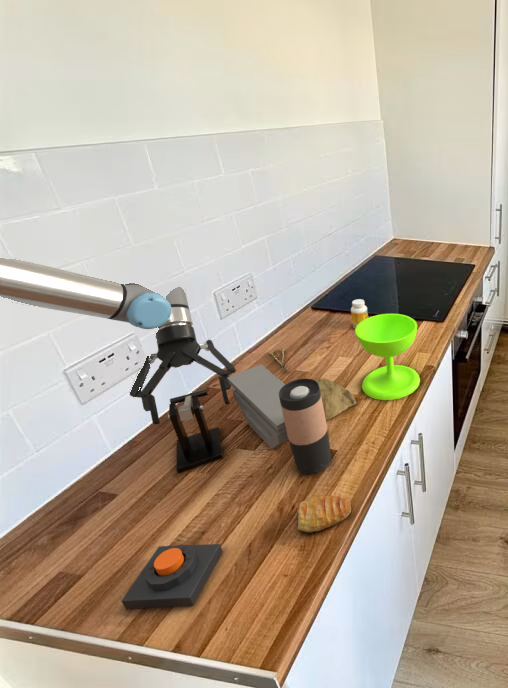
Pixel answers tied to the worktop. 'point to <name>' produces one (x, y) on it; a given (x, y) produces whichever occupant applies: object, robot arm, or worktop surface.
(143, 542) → the worktop surface
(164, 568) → the button
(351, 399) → the rock
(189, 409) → the switch lever
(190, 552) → the button block
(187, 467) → the switch bracket
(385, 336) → the wineglass
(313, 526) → the pastry
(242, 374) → the sharpening stone
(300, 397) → the travel mug
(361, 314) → the supplement bottle
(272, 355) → the tongs
